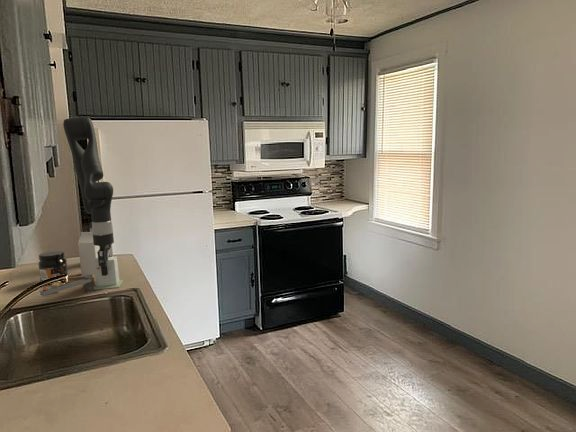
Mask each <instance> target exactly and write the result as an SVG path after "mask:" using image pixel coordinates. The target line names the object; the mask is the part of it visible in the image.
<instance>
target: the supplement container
mask: <svg viewBox="0 0 576 432" xmlns="http://www.w3.org/2000/svg"><path fill="white" fill-rule="evenodd" d="M65 253H66V252H65V251H62V250H53V251H46V252H42V253H39V254H38V260H39V261H38V263H37V264H38V271H39V277H40V280H39V281H40V282H41V281H43V280H45V279H49V278H52V277H55V276H59V275H63V274H67V275H68V276H69V272H68V262H67V258H65V256H66V255H65Z"/></svg>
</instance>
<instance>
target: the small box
mask: <svg viewBox="0 0 576 432" xmlns="http://www.w3.org/2000/svg"><path fill="white" fill-rule="evenodd" d="M102 263H104V261H102ZM93 264H94V273H95V281H96V286H108V285H117V283H118V282H119V280H120V273H119V265H118V256H113V257H109V260H108V261H107V269H108V275H106V276H102V273H101V267H100V266H99V262H98V258H96V259H95V260H94V261H93Z"/></svg>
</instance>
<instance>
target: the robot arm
mask: <svg viewBox="0 0 576 432" xmlns="http://www.w3.org/2000/svg"><path fill="white" fill-rule="evenodd" d="M62 123H63V124H62V125H63V130H64V133H65V137H66V140H67V143H68V146H69V149H70V152H71V156H72V160H73V165H74V169H75V173H76V177H77V180H78V183H79V187H80V192H81V197H82V202H83V203H82V205H83V208H84V211H85V213H86V214H88V215H90V216H91V221H90V222H89V232H92V234H93V243H94V245H96V246H99V247H100V250H98V252H97V254H98V262H99V266H100V267H101V273H102V276H106V275H108V269H107V261H108V260H109V257H114V254H113V253H114V251H113V250H114V249H113V244H114V243H115V240H114V239H115V238H114V229H113V227H114V226H113V223H112V214H111V207H112V200H113V195H114V186H113V185H112V184H111V182H110V181H101V180H102V179H103V178H104V170H103V168H102V164H101V161H100V157H99V151H98V150H99V149H98V142H97V137H96V136H97V135H96V132H95V128H94V123H93V121H92V119H91V118H90V117H89V116H77V117H70V118H65V119H64V120H63V122H62ZM83 140H87V145H86V147H85V149H83V147H82V146H81V145H80V143H78V141H83ZM100 181H101V182H100ZM102 261H104V263H102Z"/></svg>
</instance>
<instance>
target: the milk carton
mask: <svg viewBox="0 0 576 432" xmlns="http://www.w3.org/2000/svg"><path fill="white" fill-rule="evenodd" d="M77 246H78V254H79V255H78V256H79V265H80V271H81V274H80V276H86V275H95V273H94V264H93V261H94V260H95V259H96V258H98V254H97V252H98V250H100V247H99V246H96V245H94V243H93V234H92V232H90V231H81V232H80V237H79V240H78V242H77Z"/></svg>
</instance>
